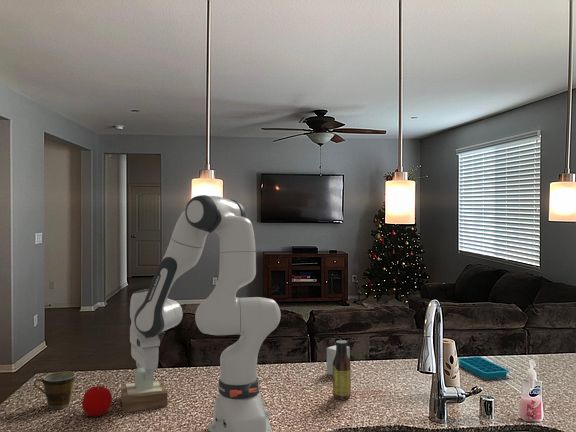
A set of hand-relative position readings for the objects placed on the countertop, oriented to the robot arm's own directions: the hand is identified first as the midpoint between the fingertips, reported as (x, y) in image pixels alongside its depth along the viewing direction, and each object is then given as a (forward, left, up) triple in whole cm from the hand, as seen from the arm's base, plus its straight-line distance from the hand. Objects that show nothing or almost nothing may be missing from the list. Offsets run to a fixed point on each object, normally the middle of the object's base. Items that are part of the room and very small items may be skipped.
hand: (143, 376), depth 173 cm
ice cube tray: (-16, -132, -9) cm, 133 cm away
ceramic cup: (+7, +28, -9) cm, 30 cm away
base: (0, 0, -9) cm, 9 cm away
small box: (+3, -76, -9) cm, 77 cm away
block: (0, 0, -4) cm, 4 cm away
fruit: (-5, +15, -9) cm, 18 cm away
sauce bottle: (-21, -65, -9) cm, 69 cm away
